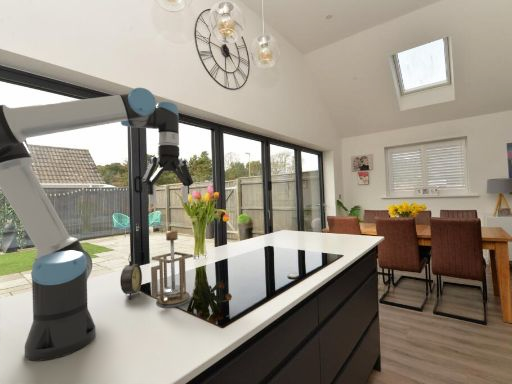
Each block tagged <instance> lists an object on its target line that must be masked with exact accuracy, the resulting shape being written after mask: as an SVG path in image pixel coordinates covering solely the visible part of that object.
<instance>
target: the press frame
mask: <svg viewBox="0 0 512 384" xmlns="http://www.w3.org/2000/svg"><path fill="white" fill-rule="evenodd" d="M175 255H178V256H180V257H174V259H171V258H170V259H167V258H168V257H171V252H169V253H164V254H161V255H155V256H151V260H152V261H158V262H159V263H158V264H159V265H158V264H157V265H153V266H150V278H151V280H150V281H151V297H153V298H157V299H156V301H155V302H156V306H157V307H159V308H163V309H164V308H165V309H167V308H168V309H171V308H172V309H173V308H177V307H180V306H183V305H186V304H188V303H189V302H190V301H191V300H192V298H191V295H190V293H189V292H188V291H187V284H186V282H187V281H186V260H187V259H190V258H193V257H194V254H192V253H185V252H178V251H174V256H175ZM171 262H174V263H175V262H178V268H179V269H178V270H179V273H178V274H179V285H180V294H177V295H164V293H163V289H164V288H166V287H168V269H167V268H168V267H167V266H168V265H167V264H171ZM158 270H159V287H158ZM183 286H184V292H183ZM158 288H159V289H158ZM158 290H159V291H158Z"/></svg>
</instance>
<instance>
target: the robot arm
mask: <svg viewBox="0 0 512 384" xmlns="http://www.w3.org/2000/svg"><path fill="white" fill-rule="evenodd" d="M179 116H180V115H179V107H178V105H176V104H175V103H174V102H170V101H160V102H158V103H156V98H155V96H154V94H153V93H152V92H151V91H150V90H149V89H147V88H145V87H144V88H143V87H136V88H134V89H132V90H131V91H130V92H129V93H121V94H116V95H115V94H114V95H108V96H107V95H106V96H100V97H94V98H93V97H91V98H86V99H85V98H84V99H77V100H76V99H75V100H68V101H61V102H60V101H59V102H51V103H43V104H36V105H28V106H19V107H11V106H9V105H7V104H0V189H1V192H2V193H3V195H4V196H5V198H6V200H7V201H8V203H9V205H10V206H11V208H12V210H13V212H14V213H15V215H16V216H17V219H19V222H20V224H21V225H22V226H23V229H24V230H25V232H26V234H27V235H28V237H29V239H30V240H31V243H32V244H33V245H34V247H35V249H36V254H35V256H34V262H33V264H32V268H31V273H30V275H31V282H32V283H31V285H32V287H31V288H32V314H33V315H32V323H31V326H30V329H29V332H28V335H27V338H26V341H25V343H24V357H25V358H26V359H28V360H30V361H47V360H52V359H57V358H60V357H64V356H67V355H70V354H72V353H74V352H77V351H78V350H81V349H83V348H85V346H87V345H88V344H90V343H91V342H92V341H93V340H94V339H95V337H96V334H97V333H96V328H97V327H96V324H95V322H94V320H93V318H92V315H91V313H90V310H89V307H88V280H89V276H90V274H91V272H92V269H93V260H92V257H91V255H90V253H88V251H87V250H85V249H84V247H83V245H82V244H81V243H80V240H79V239H78V238H76V237H73V236H70V235H69V233H68V231H67V229H66V227H65V226H64V224H63V222H62V220H61V219H60V217H59V216H60V215H58V213H57V211H56V209H55V207H54V206H53V204H52V202H51V200H50V199H49V197H48V195H47V193H46V191H45V190H44V188H43V186H42V184H41V182H40V181H39V178H38V177H37V176H36V174H35V172H34V170H33V168H32V164H33V162H34V157H33V155H32V154H31V152H30V150H29V147H28V142H27V139H29V138H33V137H39V136H44V135H45V136H46V135H51V134H56V133H63V132H69V131H75V130H82V129H86V128H92V127H97V126H103V125H104V126H105V125H110V124H114V123H120V125H121V126H123V127H128V128H138V129H139V128H142V129H153V130H154V129H155V130H156V131H157V145H158V146H157V156H158V157H157V156H152V157H150V158H149V164H148V166H147V168H146V171H145V173H144V174H143V177H142V179H141V183H142V184H144V185H145V186H147V195H148V196H149V205H157V185H154V184H155V183H156V182H157V180H158V179H159V178H160V177H161V175H162V174H163V172H172V173H174V174H175V176H176V177H177V178H178V179H179V181H180V183H181V184H182V186H181V203H183V204H184V203H185V204H186V203H187V204H188V203H189V194H190V186H191V185H193V184H194V180H193V178H192V175H191V173H190V170H189V169H188V165H187V160H185V159H183V160H182V159H181V160H180V158H179V157H180V147H179V145H180V135H179V133H180V129H179V127H180V126H179V125H180V124H179V121H180V120H179V119H180V117H179ZM157 164H158V166H157ZM156 166H157V168H156ZM155 168H156V170H155ZM154 171H155V172H154Z"/></svg>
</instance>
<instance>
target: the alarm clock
mask: <svg viewBox="0 0 512 384" xmlns="http://www.w3.org/2000/svg"><path fill="white" fill-rule="evenodd" d="M132 260H133V256H132V253H130V254H129V255H128V263H129V264H127V265H125V266H124V267H123V269H122V271H121V273H120V280H119V281H120V288H121V292H122V293H123V294H125V296H127V295H129V296H128V300H132V294H138V293H139V292H140V290H141V289H142V288H141V287H142V284H143V274H142V268H141V266H140V265H139V264H138V263H134V264H133V263H132V262H133V261H132Z"/></svg>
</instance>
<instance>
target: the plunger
mask: <svg viewBox="0 0 512 384" xmlns="http://www.w3.org/2000/svg"><path fill="white" fill-rule="evenodd" d="M178 237H179V236H178V230H167V231H165V238H166V239H165V240H166V241H170V253H171V256H170V260H171V259H175V255H174V252H175V242H174V241H177V240H178V239H179V238H178ZM175 267H176V266H175V262H171V263H170V273H171V279H170V280H171V285H168V286H167V287H166V288H164V287H163V293H164V295H177V294H180V284H176V274H175V273H176V272H175ZM183 292H184V286H183Z"/></svg>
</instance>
